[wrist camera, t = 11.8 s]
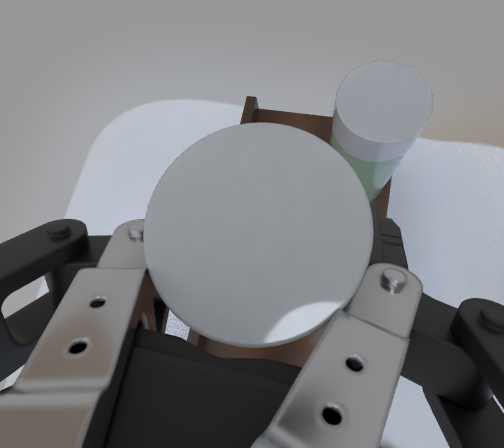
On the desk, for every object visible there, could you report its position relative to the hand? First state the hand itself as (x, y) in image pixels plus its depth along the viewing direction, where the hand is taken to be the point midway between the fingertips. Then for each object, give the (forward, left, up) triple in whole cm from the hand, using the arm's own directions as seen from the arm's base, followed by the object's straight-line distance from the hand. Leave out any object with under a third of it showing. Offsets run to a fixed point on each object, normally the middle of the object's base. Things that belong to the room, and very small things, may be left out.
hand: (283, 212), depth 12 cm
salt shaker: (-6, -6, -13) cm, 16 cm away
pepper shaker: (+1, +2, -5) cm, 5 cm away
